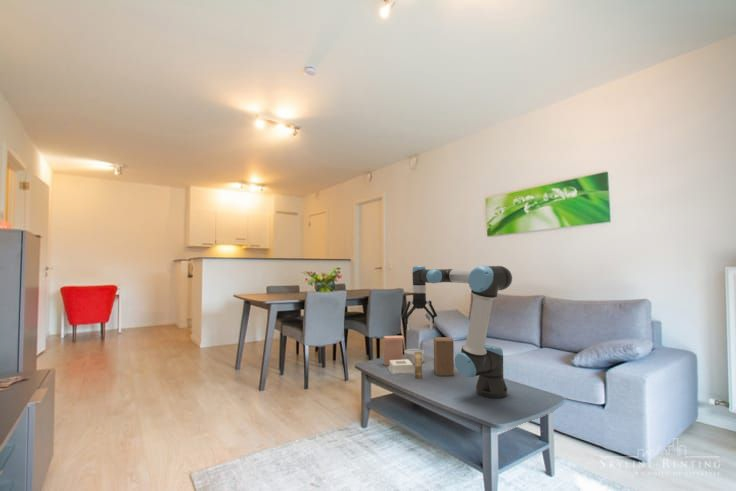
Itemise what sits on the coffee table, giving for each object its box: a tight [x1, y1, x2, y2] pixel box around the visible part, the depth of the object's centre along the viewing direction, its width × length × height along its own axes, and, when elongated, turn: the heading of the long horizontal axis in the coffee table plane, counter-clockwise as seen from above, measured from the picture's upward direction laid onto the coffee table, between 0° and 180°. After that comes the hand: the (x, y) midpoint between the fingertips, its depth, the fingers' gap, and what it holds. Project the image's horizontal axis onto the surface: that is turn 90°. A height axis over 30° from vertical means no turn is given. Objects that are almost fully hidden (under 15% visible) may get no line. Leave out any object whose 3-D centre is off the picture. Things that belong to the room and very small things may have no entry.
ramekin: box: [403, 348, 425, 365], centre depth 236 cm, size 13×13×7 cm
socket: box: [387, 358, 415, 376], centre depth 217 cm, size 14×14×5 cm
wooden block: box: [433, 336, 455, 377], centre depth 212 cm, size 10×10×20 cm
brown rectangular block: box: [383, 335, 405, 366], centre depth 228 cm, size 7×12×18 cm, turn 97°
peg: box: [414, 352, 423, 380], centre depth 204 cm, size 4×4×14 cm
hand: (419, 329), depth 207 cm, fingers open, 13 cm apart
